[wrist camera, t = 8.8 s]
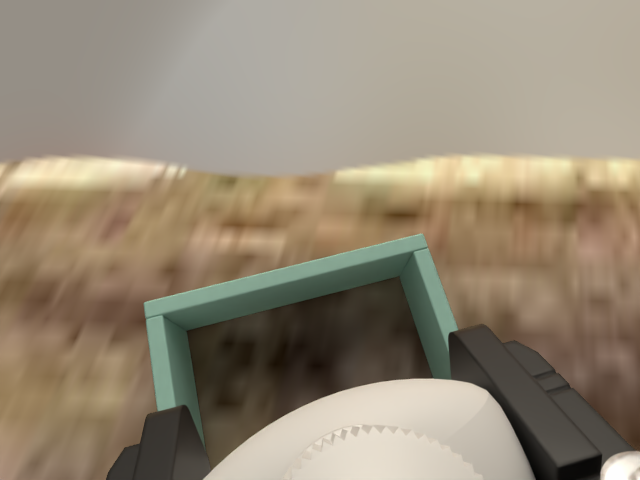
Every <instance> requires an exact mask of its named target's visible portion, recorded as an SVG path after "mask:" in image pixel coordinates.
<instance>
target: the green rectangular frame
mask: <svg viewBox="0 0 640 480" xmlns="http://www.w3.org/2000/svg"><path fill="white" fill-rule="evenodd" d="M427 248H428V246H427V243H426V240H425V237H424V235H423V234H418V235H414V236H410V237H406V238H402V239H398V240H394V241H390V242H385V243H381V244H377V245H373V246H369V247H365V248H361V249H357V250H353V251H349V252H345V253H341V254H337V255H333V256H329V257H325V258H321V259H317V260H313V261H309V262H305V263H301V264H297V265H293V266H289V267H285V268H281V269H277V270H273V271H269V272H265V273H260V274H256V275H252V276H248V277H244V278H240V279H236V280H232V281H228V282H224V283H220V284H216V285H212V286H208V287H204V288H200V289H196V290H192V291H188V292H184V293H180V294H176V295H172V296H168V297H164V298H160V299H156V300H152V301H148V302H145V303H144V311H145V317H146V326H147V334H148V342H149V349H150V357H151V365H152V373H153V380H154V388H155V396H156V403H157V411H161V410H165V409H169V408H172V407H176V406H180V405H186V406H187V407H188V409H189V411H190V413H191V415H192V418H193V420H194V423H195V426H196V428H197V431H198V433H199V436H200V438H201V441H202V443H203V446H204V448H205V442H204V436H203V429H202V423H201V417H200V411H199V404H198V398H197V392H196V386H195V379H194V373H193V367H192V361H191V354H190V348H189V342H188V336H187V332H186V331H187V330H191V329H195V328H199V327H203V326H207V325H210V324H214V323H218V322H222V321H226V320H230V319H234V318H238V317H242V316H246V315H250V314H254V313H257V312H261V311H265V310H269V309H273V308H277V307H281V306H285V305H289V304H293V303H297V302H300V301H304V300H308V299H312V298H316V297H320V296H324V295H328V294H332V293H336V292H340V291H343V290H347V289H351V288H355V287H359V286H363V285H367V284H371V283H375V282H379V281H383V280H386V279H390V278H394V277H398V276H400V280H401V283H402V286H403V289H404V292H405V295H406V298H407V301H408V304H409V307H410V310H411V313H412V316H413V319H414V322H415V325H416V328H417V331H418V334H419V337H420V340H421V343H422V346H423V349H424V352H425V355H426V358H427V361H428V364H429V367H430V370H431V373H432V376H433V379H445V380H451V370H450V357H449V345H448V335H449V333H450V332H453V331H457V330H458V327H457V325H456V322H455V319H454V316H453V314H452V311H451V308H450V306H449V303H448V300H447V297H446V295H445V292H444V289H443V287H442V284H441V281H440V278H439V276H438V273H437V270H436V267H435V265H434V262H433V259H432V257H431V254H430V251H429V249H427ZM205 451H206V448H205Z"/></svg>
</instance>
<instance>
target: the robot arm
mask: <svg viewBox="0 0 640 480" xmlns="http://www.w3.org/2000/svg"><path fill="white" fill-rule="evenodd" d="M448 345H449V357H450V370H451V380H455V381H462V382H468V383H472V384H474V385H476V386H478V387H481V388H483V389H485V390H487V391H488V392H489V394H490V395H491V396H492V397H493V398H494V399H495V400H496V401H497V403H498V404H499V405H500V406H501V408H502V410H503V411H504V413H505V415H506V417H507V418H508V420H509V422H510V424H511V426H512V428H513V430H514V432H515V434H516V436H517V438H518V440H519V442H520V444H521V446H522V448H523V450H524V453H525V455H526V457H527V459H528V461H529V464H530V466H531V468H532V471H533V473H534V476H535V478H536V480H640V451H636V450H635V449H634V448H632V447H631V446H630V445H629V444H628V443H627V442H626V441H625V440H624V439H623V438H622V437H621V436H620V435H619V434H618V433H617V432H616V431H615V430H614V429H613V428H612V427H611V426H610V425H609V424H608V423H607V422H606V421H605V420H604V419H603V418H602V417H601V416H600V415H599V414H598V413H597V412H596V411H595V410H594V409H593V408H592V407H591V406H590V405H589V404H588V403H587V401H586V400H585V399H584V398H583V397H582V396H581V395H580V394H579V393H578V392H577V391H576V390H575V389H574V388H571V387H570V385H569V383H568V382H567V381H566V380H565V379H564V378H563V377H562V376H561V375H560V374H559V373H556V372H555V369H554V368H553V367H552V366H551V365H550V364H549V363H548V362H547V361H546V360H545V359H544V358H543V357H542V356H541V355H540V354H539V353H538V352H536V351H534V350H532V349H530V348H528V347H526V346H524V345H523V344H521V343H519V342H517V341H515V340H514V341H510V342H506V343H502V342H501V341H500V340H499V339H498V338H497V337H496V335H495V334H494V333H493V332H492V331H491V330H490V329H489V328H488V327H487V326H486V325H485V324H479V325H475V326H471V327H468V328H464V329H460V330H457V331H453V332H450V333H449V335H448ZM210 472H211V468H210V463H209V459H208V456H207V453H206V451H205V448H204V446H203V443H202V441H201V438H200V436H199V433H198V431H197V428H196V426H195V423H194V420H193V418H192V415H191V413H190V411H189V409H188V407H187V406H186V405H180V406H176V407H172V408H169V409H165V410H161V411H158V412H154V413H150V414H148V415H147V417H146V419H145V423H144V428H143V432H142V437H141V441H140V444H136V445H133V446H129V447H126V448H124V450H123V451H122V453H121V454H120V456H119V457H118V459H117V460H116V462H115V463H114V465H113V466H112V467H111V469H110V470H109V472H108V475H107V478H106V480H203V479H204V478H205V477H206V476H207V475H208V474H209V473H210Z"/></svg>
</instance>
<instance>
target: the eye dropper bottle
mask: <svg viewBox="0 0 640 480" xmlns="http://www.w3.org/2000/svg"><path fill="white" fill-rule="evenodd" d="M203 480H536V478H535V476H534V473H533V471H532V468H531V466H530V464H529V461H528V459H527V457H526V455H525V453H524V450H523V448H522V446H521V444H520V442H519V440H518V438H517V436H516V434H515V432H514V430H513V428H512V426H511V424H510V422H509V420H508V418H507V417H506V415H505V413H504V411H503V410H502V408H501V406H500V405H499V404H498V403H497V401H496V400H495V399H494V398H493V397H492V396H491V395H490V394H489V392H488V391H487V390H485V389H483V388H481V387H478V386H476V385H474V384H472V383H468V382H462V381H455V380H445V379H404V380H393V381H385V382H378V383H373V384H368V385H363V386H358V387H355V388H351V389H348V390H344V391H340V392H337V393H335V394H332V395H329V396H326V397H323V398H321V399H318V400H316V401H314V402H311V403H309V404H307V405H304V406H302V407H300V408H298V409H296V410H294V411H292V412H290V413H288V414H287V415H285V416H283V417H281V418H280V419H278V420H276V421H275V422H273V423H271V424H270V425H268V426H266V427H265V428H263V429H262V430H261V431H259V432H258V433H256V434H255V435H253V436H252V437H250V438H249V439H248V440H247V441H245V442H244V443H243V444H241V445H240V446H239V447H238V448H236V449H235V450H234V451H233V452H232V453H230V454H229V455H228V456H227V457H226V458H225V459H224V460H223V461H221V462H220V463H219V464H218V465H217V466H216V467H215V468H214V469H213V470H212V471H211V472H210V473H209V474H208V475H207V476H206V477H205V478H204V479H203Z"/></svg>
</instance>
